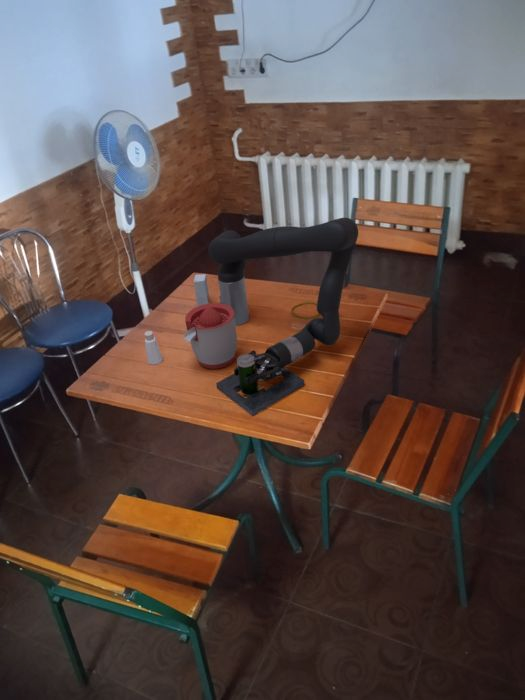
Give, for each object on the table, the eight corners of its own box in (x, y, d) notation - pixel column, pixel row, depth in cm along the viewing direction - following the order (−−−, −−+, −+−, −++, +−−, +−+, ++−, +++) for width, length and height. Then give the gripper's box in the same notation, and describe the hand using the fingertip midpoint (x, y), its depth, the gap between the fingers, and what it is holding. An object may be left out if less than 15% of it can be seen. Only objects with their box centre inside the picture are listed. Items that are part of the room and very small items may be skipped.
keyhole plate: (267, 361, 181) (266, 356, 180) (304, 385, 169) (304, 379, 168) (217, 388, 172) (216, 383, 171) (252, 415, 160) (251, 410, 158)
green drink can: (243, 398, 166) (238, 366, 159) (239, 387, 170) (234, 355, 163) (260, 394, 167) (256, 362, 160) (256, 384, 171) (252, 352, 164)
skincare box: (209, 309, 213) (204, 281, 207) (198, 309, 214) (193, 281, 207) (210, 301, 218) (206, 273, 212) (199, 302, 219) (195, 274, 212)
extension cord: (330, 322, 198) (330, 317, 197) (288, 318, 203) (287, 314, 202) (337, 305, 208) (337, 300, 207) (296, 302, 212) (296, 297, 211)
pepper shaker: (157, 353, 191) (150, 326, 185) (166, 359, 188) (160, 331, 181) (144, 361, 188) (136, 333, 182) (153, 367, 185) (146, 339, 178)
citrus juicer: (180, 361, 186) (169, 309, 175) (223, 340, 194) (215, 289, 183) (205, 382, 175) (195, 328, 164) (250, 359, 183) (243, 306, 172)
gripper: (268, 333, 174) (224, 356, 166) (299, 352, 164) (254, 377, 156) (271, 353, 178) (228, 376, 170) (301, 372, 169) (257, 398, 161)
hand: (240, 377), depth 163 cm, fingers closed on green drink can, 5 cm apart
